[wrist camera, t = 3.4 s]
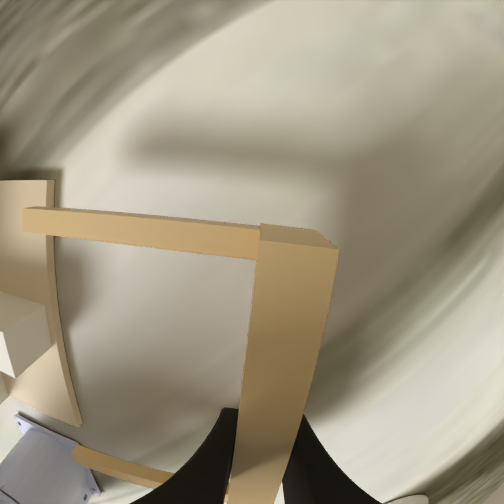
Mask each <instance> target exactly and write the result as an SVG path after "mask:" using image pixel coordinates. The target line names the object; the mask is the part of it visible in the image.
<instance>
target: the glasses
mask: <svg viewBox="0 0 504 504" xmlns="http://www.w3.org/2000/svg"><path fill="white" fill-rule="evenodd" d="M22 232H30V233H37V234H45V235H53V236H61V237H69V238H77V239H85V240H93V241H101V242H109V243H117V244H125V245H133V246H141V247H150V248H158V249H166V250H175V251H183V252H191V253H200V254H208V255H217V256H226V257H234V258H243V259H252V260H256V267H255V276H254V285H253V293H252V302H251V310H250V318H249V327H248V335H247V344H246V352H245V360H244V369H243V377H242V385H241V393H240V401H239V412H238V422H237V431H236V438H235V446H234V454H233V462H232V469H231V474H230V482H228V486H227V491H226V495H225V499H224V502H227V504H274V501H275V498H276V496H277V493H278V490H279V487H280V484H281V482H282V479H283V476H284V473H285V470H286V467H287V464H288V461H289V458H290V455H291V452H292V449H293V446H294V442H295V439H296V436H297V433H298V429H299V426H300V423H301V419H302V416H303V412H304V409H305V405H306V402H307V398H308V394H309V391H310V387H311V383H312V379H313V375H314V371H315V367H316V363H317V359H318V355H319V351H320V346H321V342H322V338H323V333H324V329H325V324H326V319H327V315H328V310H329V305H330V300H331V295H332V290H333V284H334V279H335V274H336V268H337V262H338V256H339V250H340V249H338V248H337V247H336V246H335V245H334V244H332V243H331V242H330V241H329V240H327V239H326V238H325V237H324V236H323V235H321V234H320V233H319V232H318V231H316V230H311V229H303V228H295V227H287V226H279V225H270V224H262V223H261V224H260V226H254V225H246V224H236V223H227V222H218V221H208V220H199V219H189V218H178V217H168V216H157V215H146V214H135V213H123V212H111V211H99V210H86V209H72V208H58V207H42V206H34V207H27V208H22ZM71 456H72V458H73V460H74V462H75V463H77V464H79V465H82V466H84V467H87V468H90V469H92V470H95V471H98V472H100V473H103V474H106V475H109V476H112V477H115V478H118V479H121V480H124V481H127V482H131V483H134V484H138V485H141V486H145V487H149V488H153V489H155V488H157V487H158V486H160V485H161V484H163V483H164V482H165V481H167V480H168V479H169V478H170V477H171V476H173V475H174V474H175V473H170V472H165V471H161V470H157V469H153V468H149V467H145V466H141V465H138V464H134V463H130V462H127V461H124V460H120V459H117V458H114V457H111V456H108V455H105V454H102V453H99V452H96V451H94V450H91V449H88V448H86V447H83V446H80V445H78V444H76V446H75V447H74V449H73V451H72V452H71Z"/></svg>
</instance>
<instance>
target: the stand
mask: <svg viewBox="0 0 504 504" xmlns="http://www.w3.org/2000/svg"><path fill="white" fill-rule="evenodd" d="M54 189H55V180H1V181H0V404H1V403H2V402H3V401H4V400H5V399H6V398H7V397H8V396H10V397H12V398H14V399H16V400H17V401H19V402H21V403H23V404H25V405H27V406H29V407H31V408H33V409H35V410H38V411H40V412H42V413H44V414H46V415H48V416H51V417H53V418H55V419H58V420H60V421H62V422H65V423H67V424H70V425H72V426H75V427H77V428H79V427H80V425H81V424H82V422H83V421H82V418H81V415H80V411H79V408H78V404H77V400H76V397H75V393H74V389H73V385H72V381H71V376H70V372H69V367H68V363H67V358H66V352H65V347H64V341H63V335H62V329H61V322H60V315H59V307H58V298H57V288H56V277H55V261H54V236H53V235H45V234H37V233H30V232H22V208H27V207H34V206H42V207H54Z"/></svg>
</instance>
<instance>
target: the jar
mask: <svg viewBox="0 0 504 504" xmlns="http://www.w3.org/2000/svg"><path fill="white" fill-rule="evenodd" d="M428 503H429V500H428V497H427V496H425V495H412V496H408V497H404V498H400V499H397V500H395V501H392V502H389V503H387V504H428Z"/></svg>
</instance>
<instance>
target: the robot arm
mask: <svg viewBox="0 0 504 504" xmlns="http://www.w3.org/2000/svg"><path fill="white" fill-rule="evenodd" d="M238 412H239V409H233V408H223V409H222V410H221V413H220V415H219V418H218V420H217V422H216V423H215V425H214V427H213V429H212V430H211V432H210V433H209V435H208V436H207V438H206V439H205V441H204V442H203V443H202V445H201V446H200V447H199V449H198V450H197V451H196V452H195V454H194V455H193V456H192V457H191V458H190V459H189V460H188V461H187V462H186V463H185V464H184V465H183V466H182V467H181V468H180V469H179V470H178V471H177V472H176V473H175V474H174V475H173V476H171V477H170V478H169V479H168V480H167V481H165V482H164V483H163V484H161V485H160V486H158V487H157V488H155V489H154V490H153V491H151V492H150V493H148V494H146V495H145V496H143V497H141V498H139V499H138V500H136V501H134V502H132V503H130V504H224V499H225V495H226V491H227V486H228V482H229V478H230V474H231V469H232V462H233V454H234V446H235V438H236V431H237V422H238ZM14 417H15V420H16V422H17V424H18V427H19V429H20V431H21V433H22V435H23V437H22V438H21V439H20V440H19V441H18V443H17V444H16V445H15V446H14V448H13V449H12V450H11V451H10V453H9V454H8V455H7V456H6V457H5V459H4V460H3V461H2V462H1V464H0V504H87V503H88V501H89V499H90V497H91V495H92V494H94V495H96V496H100V495H101V492H100V490H99V488H98V486H97V484H96V481H95V479H94V477H93V475H92V473H91V470H90V468H87V467H84V466H82V465H79V464H77V463H75V462H74V460H73V458H72V456H71V452H72V451H73V449H74V447H75V446H76V444H78V445H79V443H77V442H76V441H73V440H71V439H68V438H66V437H64V436H61V435H59V434H57V433H54V432H52V431H50V430H48V429H46V428H44V427H42V426H40V425H37V424H35V423H33V422H31V421H30V420H28V419H26V418H24V417H22V416H20V415H18V414H16V415H15V416H14ZM282 484H283V492H284V500H285V504H382V503H380V502H379V501H377V500H375V499H374V498H373V497H371V496H370V495H369V494H367V493H366V492H365V491H363V490H362V489H361V488H360V487H358V486H357V485H356V484H355V483H354V482H353V481H352V480H351V479H350V478H349V477H348V476H347V475H346V474H345V473H344V472H343V471H342V470H341V469H340V468H339V467H338V465H337V464H336V463H335V462H334V461H333V459H332V458H331V457H330V455H329V454H328V453H327V451H326V450H325V448H324V447H323V446H322V444H321V443H320V441H319V440H318V438H317V436H316V435H315V433H314V431H313V430H312V428H311V426H310V424H309V423H308V421H307V419H306V417H305V415H304V414H303V416H302V419H301V423H300V426H299V429H298V433H297V436H296V439H295V442H294V446H293V449H292V452H291V455H290V458H289V461H288V464H287V467H286V470H285V473H284V476H283V479H282Z"/></svg>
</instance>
